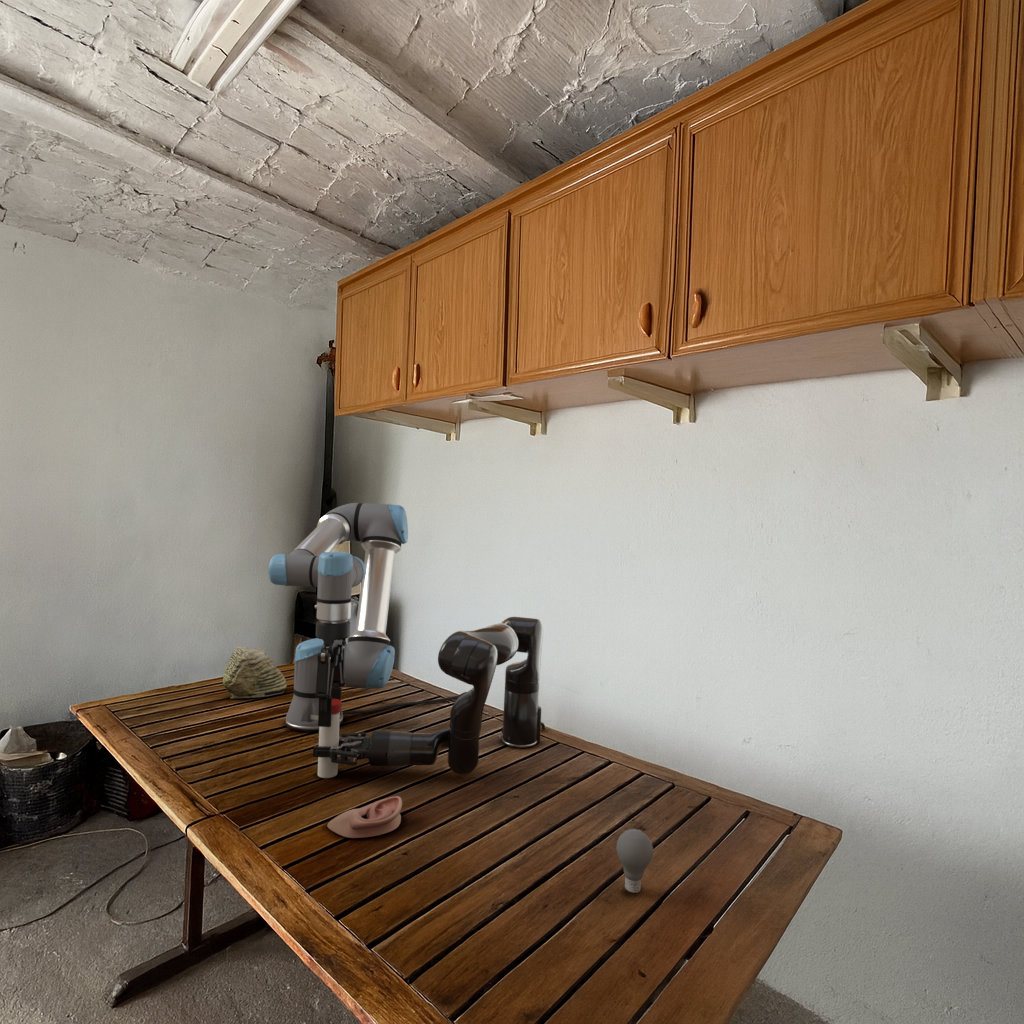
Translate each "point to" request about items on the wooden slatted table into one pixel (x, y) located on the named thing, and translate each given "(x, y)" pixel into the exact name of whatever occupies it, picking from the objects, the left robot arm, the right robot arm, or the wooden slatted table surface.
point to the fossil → (252, 674)
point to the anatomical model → (369, 819)
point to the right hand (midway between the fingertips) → (316, 747)
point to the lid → (336, 706)
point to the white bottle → (330, 738)
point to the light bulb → (634, 857)
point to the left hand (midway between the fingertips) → (329, 720)
